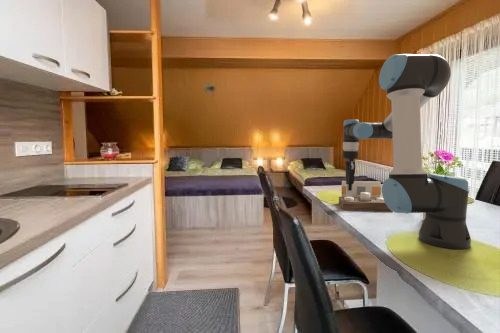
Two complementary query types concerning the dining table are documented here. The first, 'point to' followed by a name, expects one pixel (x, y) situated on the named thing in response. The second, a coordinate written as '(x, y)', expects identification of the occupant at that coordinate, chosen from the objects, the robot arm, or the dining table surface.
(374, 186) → the pattern card
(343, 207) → the button board
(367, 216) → the dining table surface
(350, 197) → the button
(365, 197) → the button
